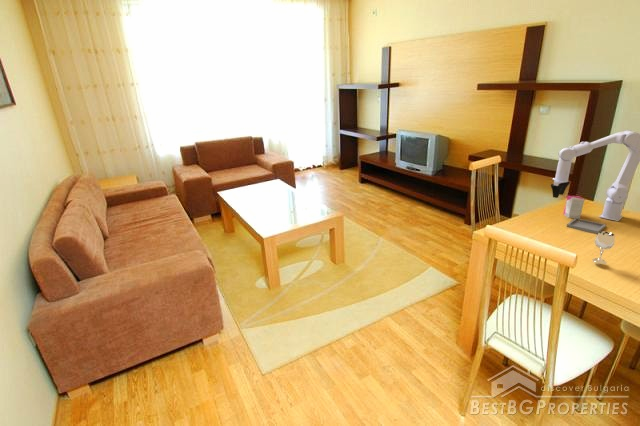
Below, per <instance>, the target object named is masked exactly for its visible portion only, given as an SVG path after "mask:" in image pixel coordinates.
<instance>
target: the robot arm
mask: <svg viewBox="0 0 640 426" xmlns="http://www.w3.org/2000/svg"><path fill="white" fill-rule="evenodd" d="M611 144H621V145H625V147H626V148H627V150H628V151H629V152H628V154H627V156H626V159H625V161H624V163H623V165H622V166H621V169H620V171H619V173H618V175H617V178H616V180H615V181H614V182H612V184H611V185H610V187H609V188H607V189H606V191H605V194H606V196H607V197H606V199H605V201H604V206H603V210H602V214H600V215H599V216H598V218H601V219H604V220H611V221H616V222H619V221H620V220H621V219H623V217H624V215H622V214H623V213H622V212H623V208H624V204H625V202H626V201H627V200H628V196H629V195H628V192H629V185H630V182H631V181H632V178H633V176H634V175H635V172H636V170H637V168H638V166H639V164H640V133H639V132H638V131H637V132H636V131H632V130H630V129H626V130H622V131H617V132H615V133H612V134H610V135H608V136H607V135H606V136H604V137H602V138H599V139H596V140H594V141H591V142H589V141H581V142H580V143H577V144H575V145H570V146H569V148H568V147H564V148H562V149H561V150H559V152H558V157H559V158H558V162H557V167H556V172H555V177H553V178H552V181H553V183H550V188H551V191H552V198H555V199H558V198H559V196H560V195H561V196H563V195H564V194H565V191H566V189H567V188H568V186H569V185H570V184H571V181H569V176H570V172H571V167H572V161H573V159H574V158H576V157H580V156H582V155H586V154H589V153H591V152H592V151H593V150H594V149H596V148H600V147H603V146H607V145H611Z"/></svg>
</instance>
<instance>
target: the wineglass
mask: <svg viewBox="0 0 640 426" xmlns="http://www.w3.org/2000/svg"><path fill="white" fill-rule="evenodd" d="M594 243H595V246H596V247H597V248H599V249H600V253H599V257H598V258H597V257H596V258H595V257H594V258H592V262H595V263H597V264H600V265H601V264H603V265H604V264H607V261H606V260H605V259H602V255H603V253H604V251H605V250H610V249H611V248H613V247H614V245H615V234H614V233H613V232H609V231H603V230H602V231H601V232H599V233H598V234H596V237H595V239H594Z"/></svg>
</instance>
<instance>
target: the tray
mask: <svg viewBox="0 0 640 426" xmlns="http://www.w3.org/2000/svg"><path fill="white" fill-rule="evenodd" d="M606 225H607V224H606V223H602V222H596V221H591V220H587V219H582V218H572V220H571V221H569V222H568V223H567V224H566V228H570V229H574V230H577V231H583V232H586V233H591V234H594V235H595V234H596V235H598V233H599V232H601V231H603V230H604V229H605V228H606Z"/></svg>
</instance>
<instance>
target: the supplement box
mask: <svg viewBox="0 0 640 426" xmlns="http://www.w3.org/2000/svg"><path fill="white" fill-rule="evenodd" d="M584 203H585V198H583V197H581V196H579V195H567V198H566V201H565V206H564V210H563V215H564V216H565V217H566V218H567V219H575V218H578V219H581V215H582V212H583V208H584Z"/></svg>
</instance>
